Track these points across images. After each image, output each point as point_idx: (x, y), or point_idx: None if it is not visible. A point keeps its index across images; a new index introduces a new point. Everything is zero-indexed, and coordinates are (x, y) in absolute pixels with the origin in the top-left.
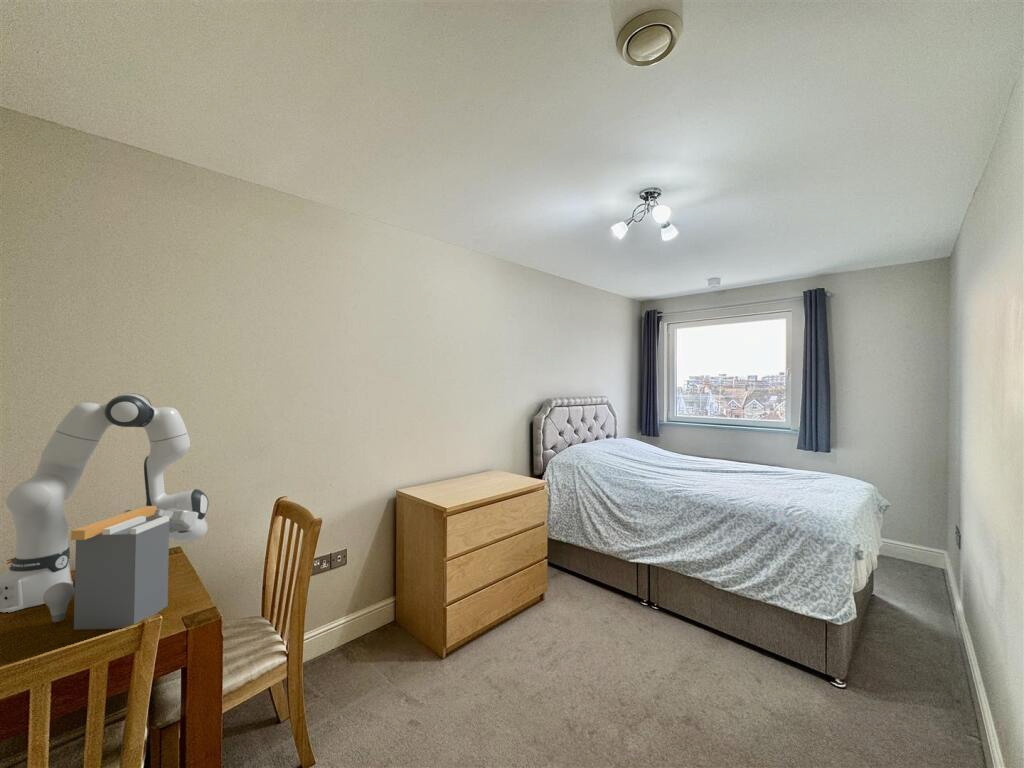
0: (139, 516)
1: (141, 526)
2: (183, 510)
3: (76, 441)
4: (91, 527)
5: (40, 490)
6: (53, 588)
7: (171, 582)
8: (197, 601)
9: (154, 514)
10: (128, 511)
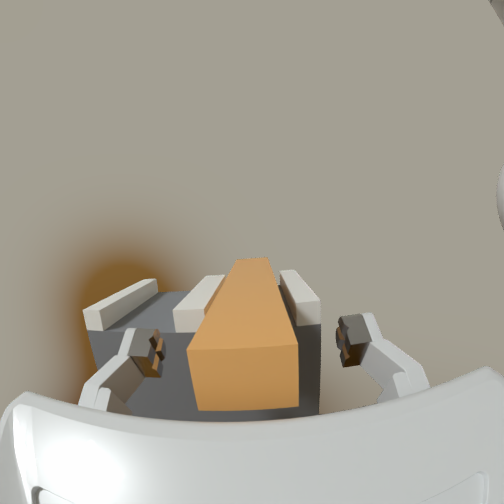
0: (200, 308)
1: (138, 283)
2: (23, 394)
3: (498, 11)
4: (239, 261)
5: (501, 175)
6: (363, 406)
7: None
8: None
9: (164, 348)
10: (339, 321)
